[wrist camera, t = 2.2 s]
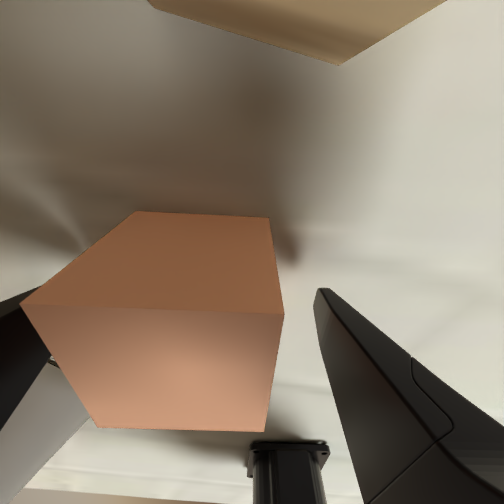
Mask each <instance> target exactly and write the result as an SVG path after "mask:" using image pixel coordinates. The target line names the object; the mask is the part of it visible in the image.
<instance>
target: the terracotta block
mask: <svg viewBox="0 0 504 504" xmlns="http://www.w3.org/2000/svg"><path fill="white" fill-rule="evenodd" d="M19 304H20V306H21V307H22V309H23V310H24V312H25V313H26V315H27V317H28V318H29V320H30V321H31V323H32V325H33V326H34V328H35V329H36V331H37V332H38V334H39V336H40V337H41V339H42V340H43V342H44V343H45V345H46V347H47V348H48V350H49V351H50V353H51V355H52V356H53V358H54V359H55V361H56V362H57V364H58V366H59V367H60V369H61V370H62V372H63V373H64V375H65V377H66V378H67V380H68V381H69V383H70V385H71V386H72V388H73V389H74V391H75V392H76V394H77V396H78V397H79V399H80V400H81V402H82V404H83V405H84V407H85V408H86V410H87V411H88V413H89V415H90V416H91V418H92V419H93V421H94V422H95V424H96V426H97V427H99V428H136V429H174V430H211V431H248V432H264V428H265V423H266V417H267V411H268V406H269V400H270V394H271V388H272V383H273V377H274V371H275V366H276V360H277V354H278V349H279V343H280V337H281V332H282V326H283V320H284V308H283V302H282V296H281V290H280V283H279V277H278V271H277V265H276V259H275V253H274V247H273V240H272V234H271V228H270V222H269V218H265V217H245V216H226V215H206V214H186V213H167V212H147V211H135V212H134V213H132V214H131V215H130V216H129V217H127V218H126V219H125V220H124V221H122V222H121V223H120V224H119V225H117V226H116V227H115V228H114V229H112V230H111V231H110V232H109V233H107V234H106V235H105V236H104V237H102V238H101V239H100V240H99V241H97V242H96V243H95V244H94V245H92V246H91V247H90V248H89V249H87V250H86V251H85V252H84V253H82V254H81V255H80V256H78V257H77V258H76V259H75V260H73V261H72V262H71V263H70V264H68V265H67V266H66V267H65V268H63V269H62V270H61V271H60V272H58V273H57V274H56V275H55V276H53V277H52V278H51V279H50V280H48V281H47V282H46V283H45V284H43V285H42V286H41V287H40V288H38V289H37V290H36V291H35V292H33V293H32V294H31V295H30V296H28V297H27V298H26V299H25V300H23V301H22V302H21V303H19Z"/></svg>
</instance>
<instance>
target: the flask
mask: <svg viewBox="0 0 504 504" xmlns="http://www.w3.org/2000/svg"><path fill="white" fill-rule="evenodd" d="M89 417H90V415H89V413H88V411H87V410H86V408H85V407H84V405H83V404H82V402H81V400H80V399H79V397H78V396H77V394H76V392H75V391H74V389H73V388H72V386H71V385H70V383H69V381H68V380H67V378H66V377H65V375H64V373H63V372H62V370H61V369H60V368H58V367H56V366H53V365H51V364H49V363H46V364H45V366H44V367H43V369H42V370H41V372H40V373H39V375H38V376H37V378H36V379H35V381H34V382H33V384H32V385H31V387H30V388H29V390H28V391H27V393H26V394H25V396H24V397H23V399H22V400H21V402H20V403H19V405H18V406H17V408H16V409H15V411H14V412H13V414H12V415H11V416H10V418H9V419H8V421H7V422H6V424H5V425H4V427H3V428H2V430H1V431H0V504H9V503H10V502H11V500H12V499H13V498H14V497H15V496H16V495H17V494H18V493H19V492H20V491H21V490H22V488H23V487H24V486H25V485H26V484H27V483H28V482H29V481H30V480H31V479H32V477H33V476H34V475H35V474H36V473H37V472H38V471H39V470H40V469H41V468H42V467H43V466H44V465H45V463H46V462H47V461H48V460H49V459H50V458H51V457H52V456H53V455H54V454H55V453H56V452H57V451H58V450H59V449H60V448H61V447H62V446H63V445H64V444H65V443H66V442H67V440H68V439H69V438H70V437H71V436H72V435H73V434H74V433H75V432H76V431H77V430H78V429H79V428H80V427H81V426H82V425H83V424H84V423H85V422H86V420H87V419H88V418H89Z"/></svg>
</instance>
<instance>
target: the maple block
mask: <svg viewBox="0 0 504 504" xmlns="http://www.w3.org/2000/svg"><path fill="white" fill-rule="evenodd" d="M148 1H149V2H150V4H151V5H152V6H153V7H154V8H156V9H159V10H162V11H165V12H169V13H172V14H175V15H178V16H181V17H185V18H188V19H191V20H194V21H197V22H201V23H204V24H207V25H210V26H213V27H217V28H220V29H223V30H226V31H229V32H233V33H236V34H239V35H242V36H245V37H249V38H252V39H255V40H258V41H261V42H265V43H268V44H271V45H274V46H277V47H281V48H284V49H287V50H290V51H293V52H297V53H300V54H303V55H306V56H309V57H313V58H316V59H319V60H322V61H325V62H329V63H332V64H335V65H338V66H339V65H340V64H342V63H344V62H345V61H347V60H349V59H350V58H352V57H354V56H355V55H357V54H359V53H360V52H362V51H364V50H365V49H367V48H369V47H370V46H372V45H374V44H375V43H377V42H379V41H380V40H382V39H384V38H385V37H387V36H389V35H390V34H392V33H394V32H395V31H397V30H398V29H400V28H402V27H403V26H405V25H407V24H408V23H410V22H412V21H413V20H415V19H417V18H418V17H420V16H422V15H423V14H425V13H427V12H428V11H430V10H432V9H433V8H435V7H437V6H438V5H440V4H442V3H443V2H445V1H447V0H148Z"/></svg>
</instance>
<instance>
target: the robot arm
mask: <svg viewBox="0 0 504 504" xmlns="http://www.w3.org/2000/svg"><path fill="white" fill-rule="evenodd" d="M40 287H41V286H39V287H37V288H34V289H32V290H29V291H27V292H24V293H22V294H20V295H17V296H15V297H12V298H10V299H7V300H5V301H2V302H0V431H1V430H2V428H3V427H4V425H5V424H6V422H7V421H8V419H9V418H10V416H11V415H12V414H13V412H14V411H15V409H16V408H17V406H18V405H19V403H20V402H21V400H22V399H23V397H24V396H25V394H26V393H27V391H28V390H29V388H30V387H31V385H32V384H33V382H34V381H35V379H36V378H37V376H38V375H39V373H40V372H41V370H42V369H43V367H44V366H45V364H46V363H47V362H48V360H49V359H50V357H51V356H52V355H51V353H50V351H49V350H48V348H47V347H46V345H45V343H44V342H43V340H42V339H41V337H40V336H39V334H38V332H37V331H36V329H35V328H34V326H33V325H32V323H31V321H30V320H29V318H28V317H27V315H26V313H25V312H24V310H23V309H22V307H21V306H20V304H19V303H21V302H22V301H23V300H25V299H26V298H27V297H28V296H30V295H31V294H32V293H33V292H35V291H36V290H37V289H38V288H40ZM313 310H314V316H315V322H316V328H317V334H318V340H319V346H320V350H321V354H322V357H323V361H324V364H325V368H326V371H327V375H328V378H329V382H330V385H331V389H332V392H333V396H334V399H335V403H336V407H337V410H338V414H339V417H340V421H341V424H342V428H343V431H344V435H345V438H346V442H347V445H348V449H349V452H350V456H351V459H352V463H353V466H354V470H355V473H356V477H357V480H358V484H359V487H360V491H361V495H362V498H363V502H364V504H504V426H502V425H501V424H500V423H498V422H497V421H496V420H494V419H493V418H492V417H490V416H489V415H487V414H486V413H485V412H483V411H482V410H481V409H479V408H478V407H477V406H475V405H474V404H472V403H471V402H470V401H468V400H467V399H466V398H464V397H463V396H462V395H460V394H459V393H458V392H456V391H455V390H454V389H452V388H451V387H450V386H448V385H447V384H446V383H444V382H443V381H442V380H441V379H439V378H438V377H437V376H436V375H434V374H433V373H432V372H431V371H429V370H428V369H427V368H426V367H424V366H423V365H422V364H421V363H420V362H418V361H417V360H416V359H415V358H413V357H411V355H410V354H409V353H407V352H406V351H405V350H404V349H402V348H401V347H400V346H399V345H398V344H396V343H395V342H394V341H393V340H392V339H390V338H389V337H388V336H387V335H386V334H384V333H383V332H382V331H381V330H379V329H378V328H377V327H376V326H375V325H373V324H372V323H371V322H370V321H369V320H367V319H366V318H365V317H364V316H362V315H361V314H360V313H359V312H358V311H356V310H355V309H354V308H353V307H352V306H350V305H349V304H348V303H347V302H346V301H344V300H343V299H342V298H341V297H339V296H338V295H337V294H336V293H335V292H333V291H332V290H331V289H330V288H318V290H317V292H316V296H315V300H314V305H313ZM329 455H330V449H329V446H327V445H310V444H272V443H253V444H251V445H250V450H249V459H248V467H247V477H249V478H253V504H327V502H326V497H325V492H324V486H323V481H322V476H321V469H322V468H323V466H324V464H325V462H326V461H327V459H328V457H329Z"/></svg>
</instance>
